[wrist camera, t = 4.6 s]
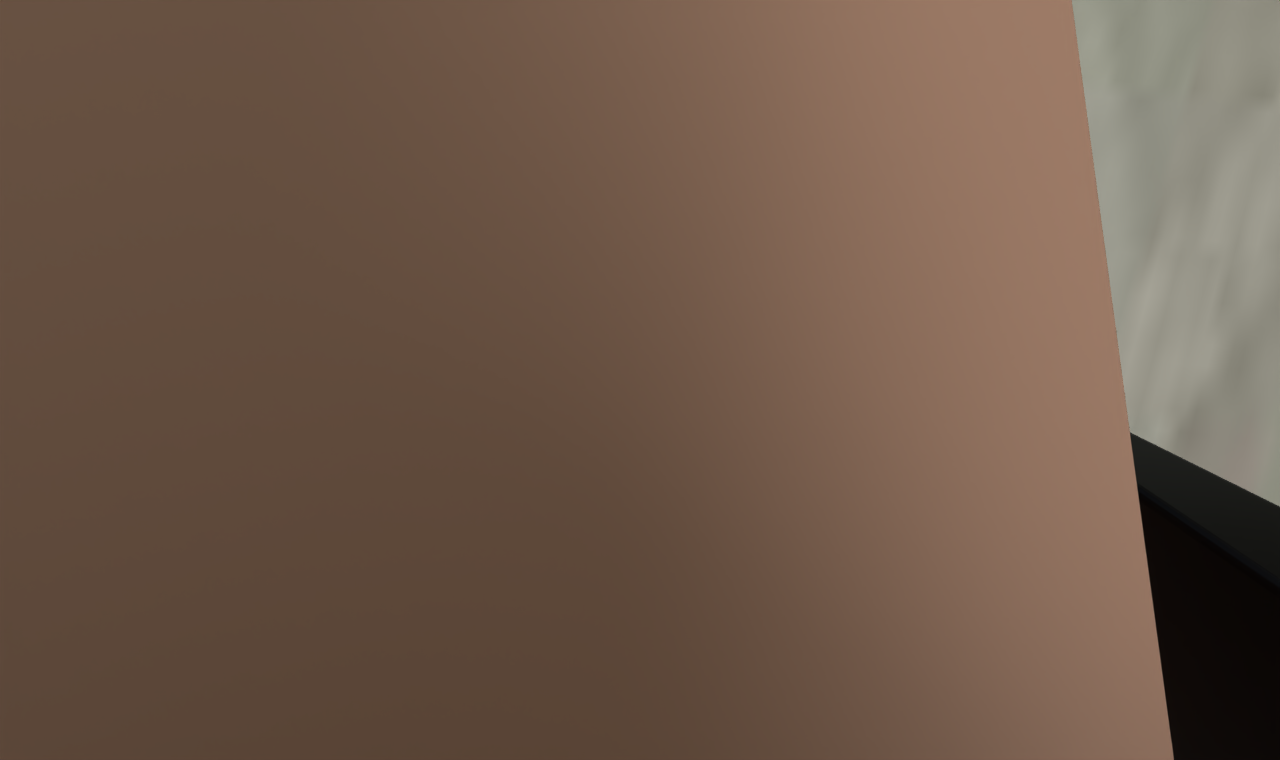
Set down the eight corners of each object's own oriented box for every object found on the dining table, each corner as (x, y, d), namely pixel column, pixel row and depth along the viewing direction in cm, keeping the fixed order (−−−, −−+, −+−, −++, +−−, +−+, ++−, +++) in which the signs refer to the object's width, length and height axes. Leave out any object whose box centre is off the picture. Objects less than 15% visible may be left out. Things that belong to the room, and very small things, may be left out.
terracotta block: (717, 749, 15) (1245, 1295, 3) (396, 756, 14) (-384, 1399, 3) (709, 436, 16) (1066, -28, 4) (411, 436, 16) (-87, -66, 4)
